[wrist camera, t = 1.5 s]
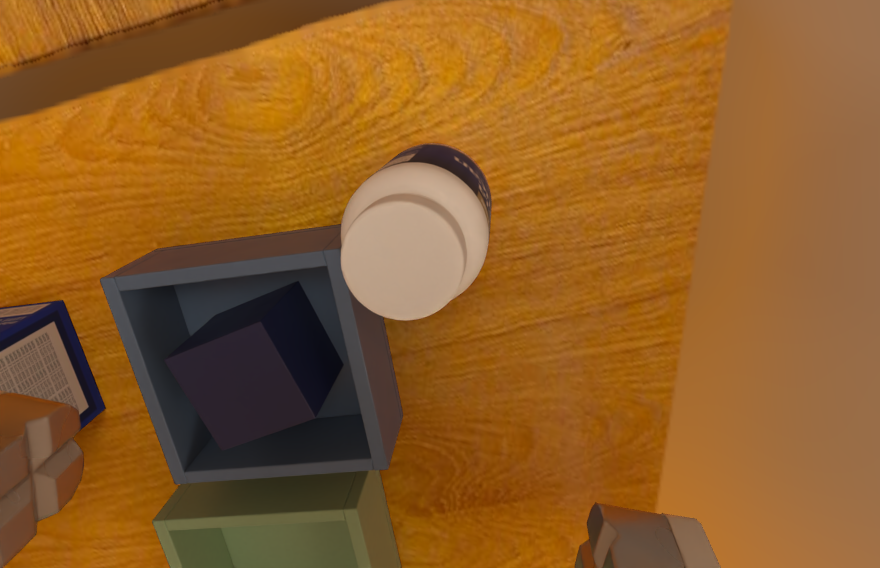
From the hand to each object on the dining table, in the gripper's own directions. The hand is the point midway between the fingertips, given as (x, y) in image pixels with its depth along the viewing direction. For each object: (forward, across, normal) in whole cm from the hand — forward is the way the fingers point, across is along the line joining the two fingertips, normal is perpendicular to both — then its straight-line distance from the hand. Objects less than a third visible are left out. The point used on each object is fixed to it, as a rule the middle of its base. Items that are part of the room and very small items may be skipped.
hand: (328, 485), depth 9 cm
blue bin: (+20, +7, +8) cm, 23 cm away
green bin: (+20, +5, +21) cm, 29 cm away
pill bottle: (+20, 0, 0) cm, 20 cm away
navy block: (+19, +7, +8) cm, 22 cm away
